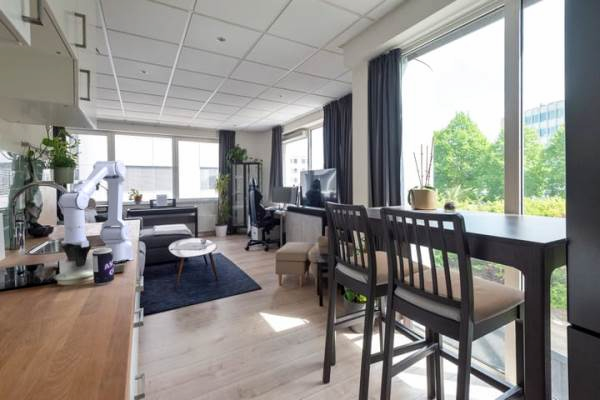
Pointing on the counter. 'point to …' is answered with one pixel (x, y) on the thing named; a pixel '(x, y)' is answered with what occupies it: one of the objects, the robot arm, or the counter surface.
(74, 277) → the stand
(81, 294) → the counter surface
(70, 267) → the housing
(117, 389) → the counter surface
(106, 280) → the beverage can
